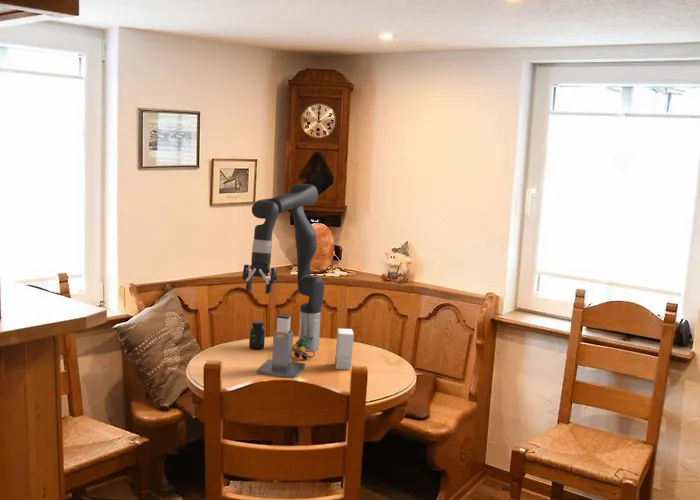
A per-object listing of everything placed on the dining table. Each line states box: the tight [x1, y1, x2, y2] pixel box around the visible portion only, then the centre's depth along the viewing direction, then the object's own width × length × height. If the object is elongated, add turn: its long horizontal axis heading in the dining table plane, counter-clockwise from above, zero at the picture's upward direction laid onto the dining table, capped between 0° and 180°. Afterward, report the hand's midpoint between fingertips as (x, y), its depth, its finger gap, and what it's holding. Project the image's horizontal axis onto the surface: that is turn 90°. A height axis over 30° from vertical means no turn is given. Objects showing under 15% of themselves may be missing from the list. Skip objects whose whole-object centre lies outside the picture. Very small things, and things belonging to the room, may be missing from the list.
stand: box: [256, 330, 306, 379], centre depth 289 cm, size 16×16×16 cm
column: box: [276, 313, 292, 334], centre depth 288 cm, size 5×5×21 cm
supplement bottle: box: [248, 320, 266, 351], centre depth 318 cm, size 7×7×12 cm
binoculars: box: [292, 335, 316, 361], centre depth 308 cm, size 9×9×10 cm
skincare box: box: [334, 328, 355, 371], centre depth 299 cm, size 8×7×16 cm
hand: (258, 292), depth 281 cm, fingers open, 8 cm apart
